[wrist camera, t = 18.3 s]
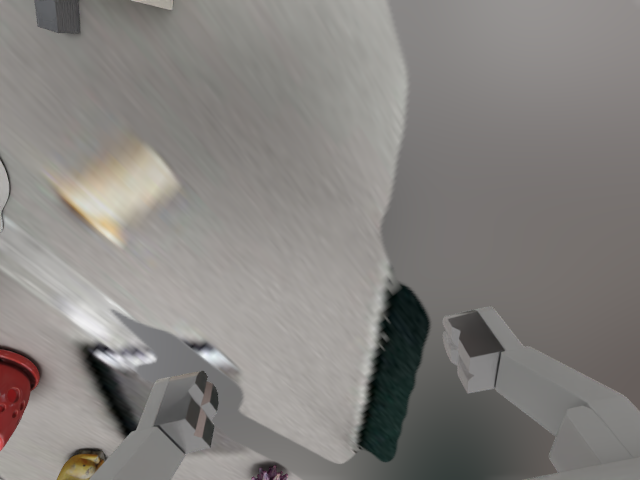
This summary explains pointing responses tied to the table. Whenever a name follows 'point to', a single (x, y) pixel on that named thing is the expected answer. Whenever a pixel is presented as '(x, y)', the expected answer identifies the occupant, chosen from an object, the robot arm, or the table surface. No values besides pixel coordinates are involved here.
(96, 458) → the decorative figurine
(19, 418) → the plant pot
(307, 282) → the table surface
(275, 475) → the purple spiky ball
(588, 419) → the robot arm
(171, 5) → the carton
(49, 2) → the rail
